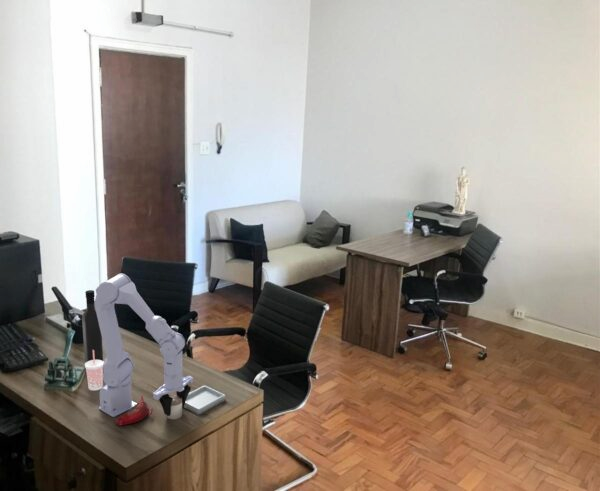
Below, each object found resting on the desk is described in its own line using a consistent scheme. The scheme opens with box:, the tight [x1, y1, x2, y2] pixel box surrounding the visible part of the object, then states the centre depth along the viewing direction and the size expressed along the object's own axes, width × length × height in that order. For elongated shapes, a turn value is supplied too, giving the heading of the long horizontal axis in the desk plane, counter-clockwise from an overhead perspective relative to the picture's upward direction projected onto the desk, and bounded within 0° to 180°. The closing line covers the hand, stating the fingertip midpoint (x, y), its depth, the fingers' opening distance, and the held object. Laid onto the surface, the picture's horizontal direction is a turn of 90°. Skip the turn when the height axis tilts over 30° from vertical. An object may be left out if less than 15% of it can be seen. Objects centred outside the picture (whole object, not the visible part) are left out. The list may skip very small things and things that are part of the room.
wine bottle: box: [81, 289, 104, 364], centre depth 199 cm, size 6×6×30 cm
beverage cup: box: [84, 350, 104, 391], centre depth 188 cm, size 6×6×14 cm
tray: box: [183, 385, 226, 416], centre depth 182 cm, size 12×10×2 cm
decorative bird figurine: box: [115, 395, 154, 426], centre depth 174 cm, size 3×18×10 cm
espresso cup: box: [166, 394, 183, 420], centre depth 174 cm, size 5×5×6 cm
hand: (174, 410), depth 174 cm, fingers closed on espresso cup, 5 cm apart
